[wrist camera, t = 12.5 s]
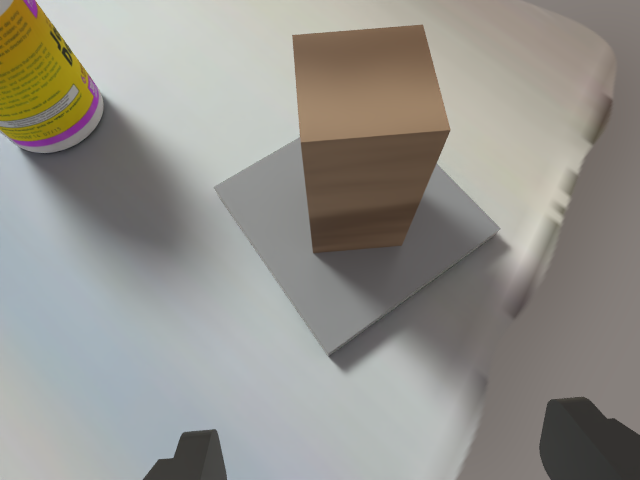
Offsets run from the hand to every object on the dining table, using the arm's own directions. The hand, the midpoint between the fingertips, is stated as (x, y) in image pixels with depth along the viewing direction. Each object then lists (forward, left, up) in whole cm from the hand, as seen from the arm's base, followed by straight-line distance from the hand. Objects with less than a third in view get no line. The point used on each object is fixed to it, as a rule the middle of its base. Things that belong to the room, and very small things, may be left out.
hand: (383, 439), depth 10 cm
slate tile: (+7, +10, -11) cm, 16 cm away
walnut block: (+7, +9, -10) cm, 15 cm away
